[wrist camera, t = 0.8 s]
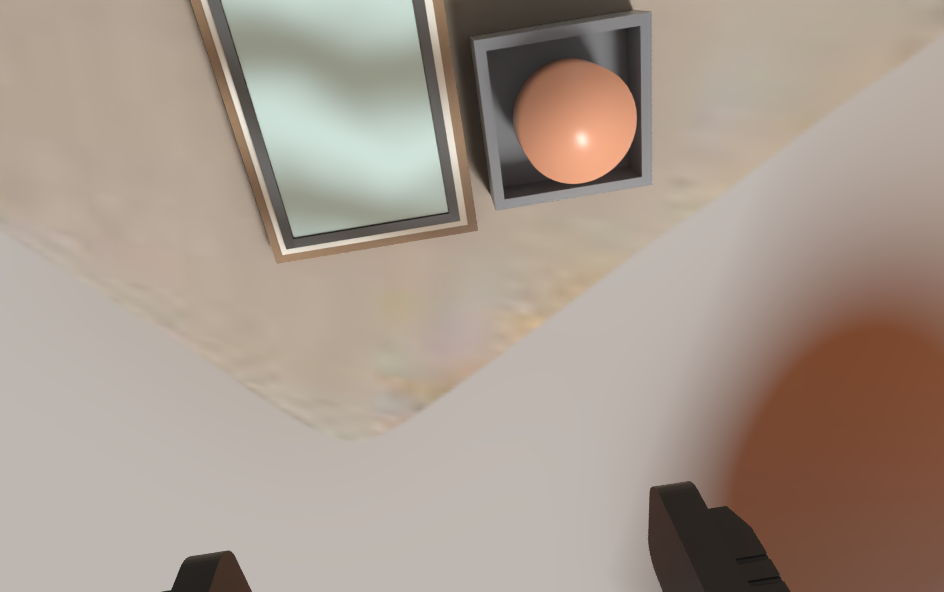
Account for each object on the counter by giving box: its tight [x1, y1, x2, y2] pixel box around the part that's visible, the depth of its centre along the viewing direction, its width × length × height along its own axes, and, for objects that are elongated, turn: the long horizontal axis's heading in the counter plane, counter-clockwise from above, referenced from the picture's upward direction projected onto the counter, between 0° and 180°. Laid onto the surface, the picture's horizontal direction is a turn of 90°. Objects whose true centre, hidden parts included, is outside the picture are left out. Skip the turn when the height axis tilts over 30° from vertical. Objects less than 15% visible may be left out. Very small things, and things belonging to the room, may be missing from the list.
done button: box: [513, 58, 637, 184], centre depth 27 cm, size 5×5×3 cm
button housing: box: [469, 10, 652, 210], centre depth 29 cm, size 8×8×2 cm
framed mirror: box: [190, 0, 478, 263], centre depth 28 cm, size 19×11×1 cm, turn 8°
